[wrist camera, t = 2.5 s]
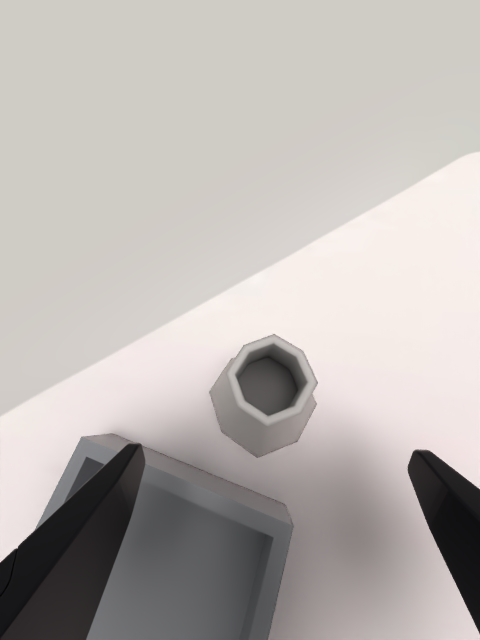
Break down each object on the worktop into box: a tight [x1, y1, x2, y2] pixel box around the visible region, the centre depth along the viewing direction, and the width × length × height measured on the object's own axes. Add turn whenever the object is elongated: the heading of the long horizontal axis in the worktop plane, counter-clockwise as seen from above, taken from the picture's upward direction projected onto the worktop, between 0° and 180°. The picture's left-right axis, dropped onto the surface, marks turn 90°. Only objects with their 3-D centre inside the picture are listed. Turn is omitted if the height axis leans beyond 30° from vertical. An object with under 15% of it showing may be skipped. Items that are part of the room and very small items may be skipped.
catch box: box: [35, 434, 293, 640], centre depth 14 cm, size 13×13×4 cm
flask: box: [210, 334, 318, 458], centre depth 14 cm, size 7×7×10 cm
